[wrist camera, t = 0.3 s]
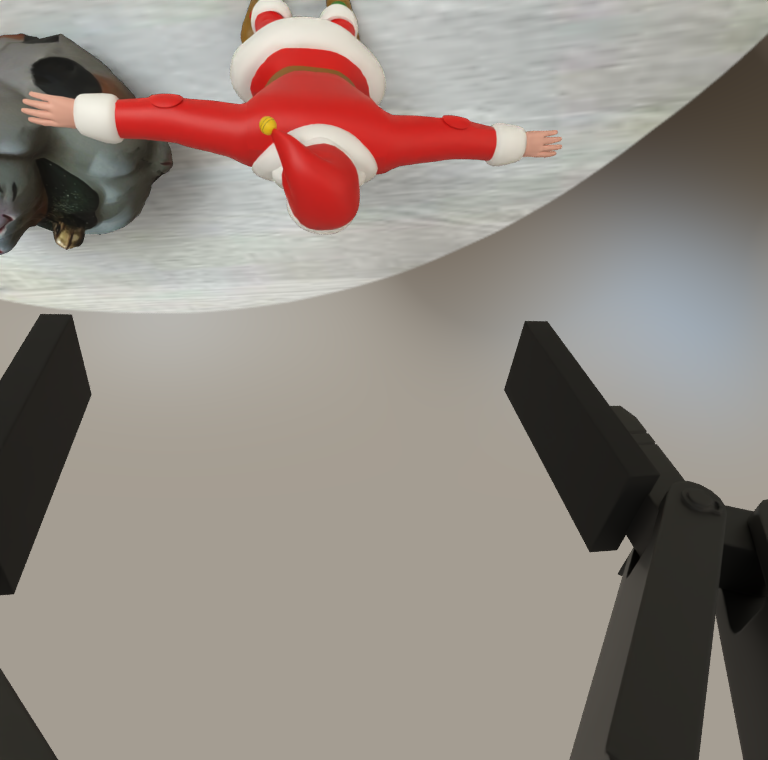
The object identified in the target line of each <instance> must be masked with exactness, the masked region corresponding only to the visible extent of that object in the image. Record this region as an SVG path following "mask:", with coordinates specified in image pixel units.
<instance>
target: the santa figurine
mask: <svg viewBox="0 0 768 760" xmlns="http://www.w3.org/2000/svg"><path fill="white" fill-rule="evenodd" d="M326 5H327V8H325V9H324V10H323V12H322V13H321V15H320V18H313V17H292V14H291V11H290V9H289V8H288V6H287V5H286V4H285V3H284V2H283V1H281V0H251V2H250V5H249V8H248V11H247V14H246V17H245V19H244V22H243V25H242V31H241V41H242V44H241V45H240V46H239V47H238V48H237V50H236V51H235V53H234V55H233V58H232V61H231V66H230V79H231V84H232V86H233V88H234V89H235V91H236V93H237V94H238V96H239V97H240V98H241V99H242V100H243V101H244V102H245V103H243V104H233V103H226V102H219V101H211V100H197V99H187V98H183V97H182V96H180V95H175V94H155V95H151V96H150V97H147V98H135V99H120V100H119V99H118V98H117V96H115V95H113V94H106V93H94V94H80V95H78V96H77V97H76V99H71V98H67V97H62V96H54V95H47V94H42V93H37V92H32V91H31V92H29V95H30V96H32V97H34V98H38V99H41V100H44V101H48V102H43V101H36V100H29V99H23V103H24V104H26V105H29V106H32V107H35V108H38V109H41V110H35V109H28V108H22V109H21V112H23V113H25V114H28V115H32V116H36V117H39V118H35V117H29V118H28V120H29V121H30V122H33V123H35V124H40V125H43V126H53V127H66V128H72V129H76V128H77V129H78V131H79V132H80V133H81V134H82V135H84V136H87V137H90V138H92V139H95V140H98V141H101V142H105V143H111V144H117V143H120V142H122V141H123V139H144V140H154V141H163V142H171V143H178V144H181V145H184V146H187V147H190V148H195V149H199V150H203V151H208V152H212V153H216V154H219V155H223V156H227V157H230V158H232V159H234V160H236V161H238V162H240V163H242V164H245V165H247V166H250V167H252V171H253V172H254V173H255V174H256V175H257V176H259V177H261V178H263V179H266V180H269V181H275V183H276V184H277V185H278V186H279V187H281V188H282V189H284V191H285V195H286V199H287V209H288V212H289V215H290V217H291V218H292V219H293V221H294V222H295V223H296V224H297V225H298V226H300V227H301V228H303V229H304V230H307V231H309V232H312V233H316V234H325V235H326V234H334V233H337V232H339V231H341V230H343V229H344V228H346V227H347V226H348V225H349V224H350V223H351V222H352V220H353V218H354V217H355V215H356V213H357V211H358V208H359V201H360V189H359V187H361V185H362V184H363V183H366V182H368V181H370V180H371V179H372V178H373V177H374V176H375V175H376V174H382V173H386V172H388V171H389V170H391V169H394V168H396V167H399V166H405V165H412V164H419V163H427V162H436V161H442V160H450V159H475V160H485V161H486V163H487V164H489V165H491V166H502V165H506V164H510V163H514V162H517V161H519V160H520V159H521V158H522V157H544V158H545V157H551V156H554V155H556V152H555V151H552V150H558V149H561V148H562V145H559V144H558V145H545V144H552V143H555V142H559V141H561V140H562V138H561V137H546V136H551V135H555V134H557V133H558V131H557V130H552V131H528V132H525V130H524V129H523V128H522V127H520V126H516V125H510V124H505V123H495V124H493V125H491V126H486V125H482V124H478V123H474V122H470V121H469V120H468V119H466V118H463V117H459V116H452V115H444V116H443V118H436V117H425V116H410V115H391V114H389V113H387V112H385V111H384V110H383V109H381V108H380V107H378V106H379V104H380V103H381V101H382V99H383V97H384V94H385V88H386V81H385V75H384V72H383V69H382V67H381V65H380V63H379V62H378V61H377V59H376V58H375V56H374V55H373V54H372V53H371V51H370V50H369V49H368V48H367V47H365V46H364V45H363V44H362V43H361V42H360V39H359V34H358V23H357V19H356V16H355V15H354V13H353V12H352V8H351V3H350V0H326Z"/></svg>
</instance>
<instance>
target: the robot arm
mask: <svg viewBox="0 0 768 760" xmlns="http://www.w3.org/2000/svg"><path fill="white" fill-rule="evenodd" d="M504 391H505V392H506V394H507V396H508V398H509V400H510V402H511V404H512V406H513V407H514V410H515V411H516V413H517V415H518V417H519V419H520V421H521V423H522V425H523V427H524V429H525V430H526V432H527V434H528V436H529V438H530V440H531V442H532V444H533V446H534V447H535V449H536V451H537V453H538V455H539V457H540V459H541V461H542V463H543V464H544V466H545V468H546V470H547V472H548V474H549V476H550V478H551V480H552V482H553V483H554V485H555V487H556V489H557V491H558V493H559V495H560V497H561V499H562V500H563V502H564V504H565V506H566V508H567V510H568V512H569V514H570V516H571V518H572V519H573V521H574V523H575V525H576V527H577V529H578V531H579V533H580V535H581V536H582V538H583V540H584V542H585V544H586V546H587V548H588V550H589V552H599V551H611V550H617V549H618V548H619V546H620V544H621V542H622V540H623V539H624V537H625V535H627V537H628V539H629V540H630V542H631V543H632V545H633V547H634V548H633V549H632V551H631V553H630V554H629V556H628V558H627V559H626V561H625V563H624V564H623V566H622V567H621V569H620V571H619V573H618V574H619V575H621V576H622V575H623V577H622V580H621V584H620V587H619V590H618V594H617V598H616V601H615V605H614V608H613V611H612V615H611V618H610V622H609V625H608V628H607V632H606V635H605V639H604V642H603V646H602V649H601V653H600V656H599V660H598V663H597V666H596V670H595V674H594V677H593V680H592V684H591V687H590V691H589V694H588V697H587V701H586V704H585V708H584V711H583V715H582V718H581V722H580V725H579V729H578V732H577V736H576V739H575V742H574V746H573V749H572V753H571V756H570V760H699V752H700V743H701V735H702V726H703V718H704V709H705V700H706V692H707V683H708V674H709V666H710V657H711V649H712V640H713V631H714V622H715V614H716V619H717V624H718V629H719V635H720V640H721V645H722V650H723V656H724V661H725V666H726V671H727V676H728V681H729V687H730V692H731V697H732V703H733V708H734V713H735V718H736V723H737V729H738V734H739V739H740V744H741V750H742V754H743V760H768V500H763V501H762V502H761V503H760V504H759V506H758V507H757V508H756V509H755V511H748V510H744V509H739V508H735V507H730V506H725V505H724V504H723V502H722V501H721V499H720V498H719V497H718V496H717V495H716V494H714V493H713V492H712V491H711V490H709V489H707V488H705V487H704V486H702V485H700V484H696V483H693V482H690V481H685V480H684V479H683V477H682V476H681V475H680V474H679V472H678V471H677V470H676V468H675V467H674V466H673V465H672V463H671V462H670V461H669V459H668V458H667V457H666V455H665V454H664V453H663V452H662V450H661V449H660V448H659V446H657V444H655V441H654V440H653V439H652V437H651V436H650V435H649V434H647V433H646V430H645V428H644V427H643V426H642V424H641V423H640V422H639V421H638V419H637V418H636V417H635V416H633V415H632V414H631V413H629V412H628V411H626V410H625V409H624V408H623V407H621V406H609V404H608V403H607V402H606V400H605V399H604V398H603V396H602V395H601V393H600V392H599V391H598V389H597V388H596V387H595V385H594V384H593V383H592V381H591V380H590V379H589V377H588V376H587V374H586V373H585V372H584V370H583V369H582V368H581V366H580V365H579V364H578V362H577V361H576V360H575V358H574V357H573V355H572V354H571V353H570V352H569V350H568V349H567V347H566V346H565V345H564V343H563V342H562V341H561V339H560V338H559V336H558V335H557V334H556V332H555V331H554V330H553V328H552V327H551V326H550V324H549V323H548V322H547V321H545V322H544V321H525V323H524V326H523V329H522V333H521V336H520V339H519V343H518V346H517V349H516V352H515V356H514V359H513V363H512V366H511V369H510V373H509V376H508V379H507V382H506V386H505V389H504ZM90 397H91V391H90V386H89V382H88V378H87V375H86V370H85V366H84V362H83V358H82V354H81V350H80V346H79V342H78V338H77V334H76V330H75V326H74V321H73V318H72V315H68V314H66V315H65V314H40V316H39V318H38V319H37V321H36V323H35V324H34V326H33V327H32V329H31V331H30V332H29V334H28V336H27V337H26V339H25V341H24V342H23V344H22V345H21V347H20V349H19V350H18V352H17V354H16V355H15V357H14V359H13V360H12V362H11V364H10V365H9V367H8V369H7V370H6V372H5V374H4V375H3V377H2V378H1V380H0V595H10V594H14V593H15V590H16V587H17V584H18V582H19V580H20V577H21V575H22V572H23V569H24V567H25V564H26V562H27V559H28V557H29V554H30V551H31V549H32V546H33V544H34V541H35V539H36V536H37V533H38V531H39V528H40V526H41V523H42V521H43V518H44V515H45V513H46V510H47V508H48V505H49V503H50V500H51V497H52V495H53V492H54V490H55V487H56V484H57V482H58V479H59V476H60V474H61V472H62V469H63V467H64V464H65V461H66V459H67V456H68V454H69V451H70V448H71V446H72V443H73V440H74V438H75V436H76V433H77V430H78V428H79V425H80V423H81V420H82V418H83V415H84V412H85V410H86V407H87V404H88V402H89V400H90ZM0 760H58V759H57V758H56V756H55V754H54V752H53V751H52V749H51V748H50V746H49V745H48V743H47V741H46V740H45V738H44V737H43V735H42V734H41V732H40V730H39V729H38V727H37V726H36V724H35V723H34V721H33V719H32V718H31V716H30V715H29V713H28V711H27V710H26V708H25V707H24V705H23V703H22V702H21V701H20V699H19V697H18V696H17V694H16V692H15V691H14V689H13V688H12V686H11V684H10V683H9V681H8V680H7V678H6V677H5V675H4V674H3V672H2V670H1V669H0Z"/></svg>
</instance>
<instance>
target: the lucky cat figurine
mask: <svg viewBox="0 0 768 760" xmlns="http://www.w3.org/2000/svg"><path fill="white" fill-rule="evenodd" d="M31 91H32V92H37V93H42V94H47V95H54V96H62V97H67V98H71V99H76V97H77V96H78V95H80V94H94V93H106V94H113V95H115V96H117V98H118V99H119V100H120V99H135V96H134V95H133V94H132V93H131V92H130V90H129V89H128V88H127V87H126V86H125V85H124V83H122V82H121V81H120V80H118V79H117V77H116V76H115V75H113V74H112V73H111V70H110V69H108V67H107V66H105V65H103V63H102V62H101V61H100V60H98V59H97V58H95V57H94V56H93V55H91V54H90V53H88V52H87V51H85V50H84V49H82V48H81V47H80V46H78V45H77V44H75V43H74V42H73V41H72V40H70V39H68V38H67V37H65V36H64V35H62V34H58V35H54V36H50V37H46V38H42V39H39V38H37V37H32V36H27V35H25V34H18V35H3V36H0V255H2V254H4V253H7V252H9V251H10V250H12V248H13V247H14V246H15V245H16V244H17V242H18V240H19V239H20V238H21V236H22V235H23V233H24V232H25V231H26V230H27V229H28V228H29V227H32V226H36V225H38V226H40V227H43V228H46V229H48V230H51V231H53V234H54V239H55V242H56V243H57V244H58V245H59V246H61V247H62V248H64V249H66V250H68V249H71V248H73V247H78V246H80V245H81V244H82V243H83V240H84V237H85V234H99V235H101V234H106V233H110V232H113V231H115V230H118V229H120V228H123V227H125V226H126V225H128V224H129V223H130V222H132V221H133V220H134V219H135V218H136V217H137V216H138V215H139V214H140V213H141V210H142V208H143V206H144V205H145V201H146V199H147V198H148V196H149V193H150V190H151V186H152V184H153V183H154V182H155V181H156V180H157V179H158V178H159V177H160V176H161V175H163V174H165V173H167V172H168V171H169V170H170V169H171V168H172V166H173V161H172V153H171V150H170V147H169V145H168V142H163V141H154V140H144V139H123V141H122V142H120V143H117V144H111V143H105V142H101V141H98V140H95V139H92V138H90V137H87V136H84V135H82V134H81V133H80V132H79V131H78V129H77V128H76V129H72V128H66V127H53V126H43V125H40V124H35V123H33V122H30V121H29V120H28V118H29V117H35V118H39V117H36V116H32V115H28V114H25V113H23V112H21V109H22V108H28V109H35V110H41V109H38V108H35V107H32V106H29V105H26V104H24V103H23V99H29V100H36V101H43V102H48V101H44V100H41V99H38V98H34V97H32V96H30V95H29V92H31Z"/></svg>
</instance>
